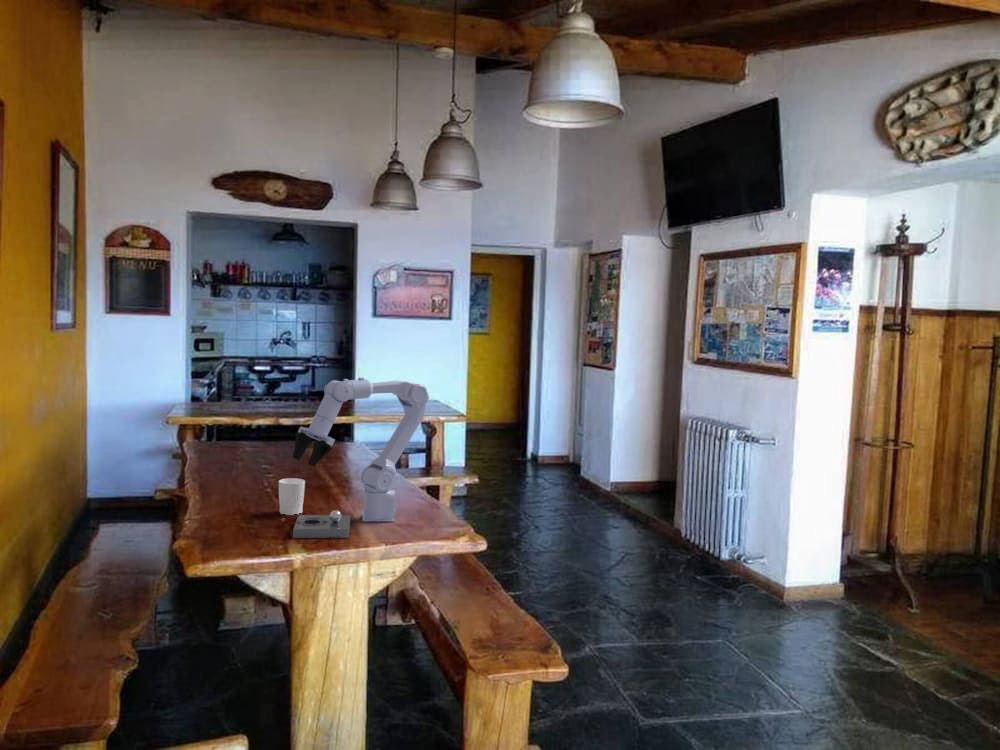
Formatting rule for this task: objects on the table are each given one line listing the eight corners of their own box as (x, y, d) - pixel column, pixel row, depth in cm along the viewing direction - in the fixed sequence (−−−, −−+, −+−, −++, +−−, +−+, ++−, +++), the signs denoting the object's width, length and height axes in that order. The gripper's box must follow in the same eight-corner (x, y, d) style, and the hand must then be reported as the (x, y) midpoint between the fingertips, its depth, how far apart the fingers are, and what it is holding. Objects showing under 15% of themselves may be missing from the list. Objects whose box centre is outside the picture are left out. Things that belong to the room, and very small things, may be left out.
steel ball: (341, 520, 217) (342, 508, 217) (341, 523, 214) (341, 511, 214) (329, 520, 217) (330, 508, 216) (328, 523, 213) (329, 511, 213)
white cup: (277, 516, 228) (278, 483, 227) (277, 509, 235) (278, 478, 235) (304, 515, 230) (305, 483, 229) (303, 509, 238) (304, 478, 237)
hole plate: (350, 523, 224) (350, 515, 223) (348, 538, 209) (348, 529, 209) (298, 523, 221) (298, 515, 221) (292, 538, 206) (293, 529, 206)
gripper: (299, 408, 219) (278, 451, 216) (329, 419, 209) (308, 464, 206) (317, 417, 224) (296, 459, 221) (347, 428, 214) (326, 472, 212)
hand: (303, 462), depth 214 cm, fingers open, 7 cm apart
